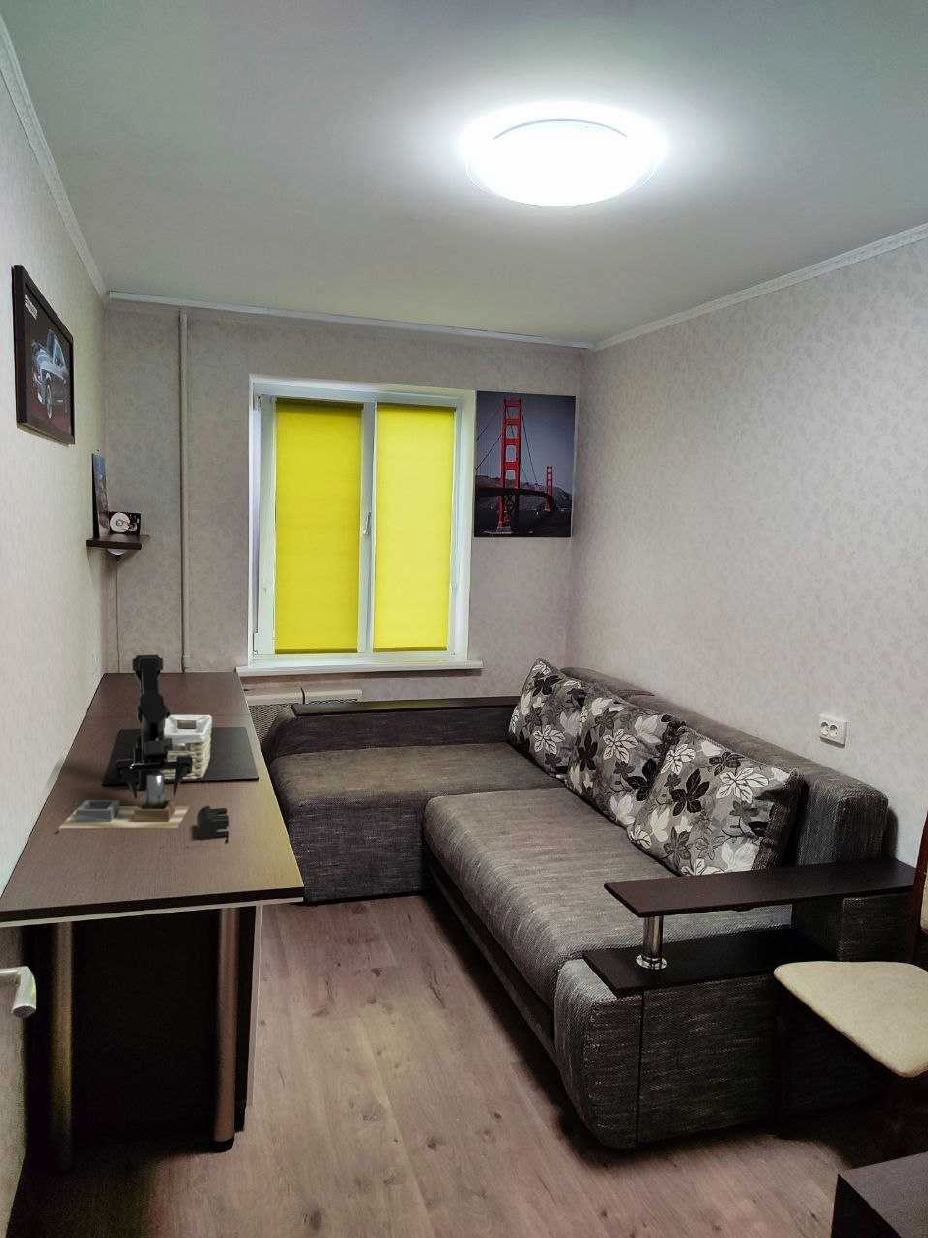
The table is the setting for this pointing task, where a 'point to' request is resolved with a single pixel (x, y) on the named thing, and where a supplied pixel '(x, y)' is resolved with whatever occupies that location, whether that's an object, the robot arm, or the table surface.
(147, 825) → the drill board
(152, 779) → the grey long rounded piece
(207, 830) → the end cap
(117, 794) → the table surface
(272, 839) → the table surface
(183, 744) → the storage basket
